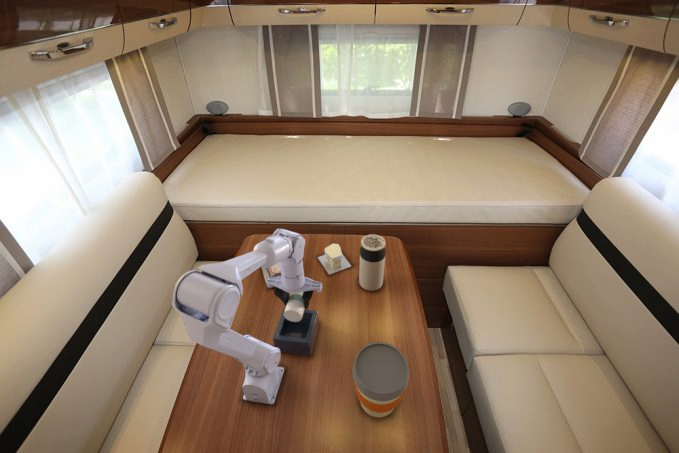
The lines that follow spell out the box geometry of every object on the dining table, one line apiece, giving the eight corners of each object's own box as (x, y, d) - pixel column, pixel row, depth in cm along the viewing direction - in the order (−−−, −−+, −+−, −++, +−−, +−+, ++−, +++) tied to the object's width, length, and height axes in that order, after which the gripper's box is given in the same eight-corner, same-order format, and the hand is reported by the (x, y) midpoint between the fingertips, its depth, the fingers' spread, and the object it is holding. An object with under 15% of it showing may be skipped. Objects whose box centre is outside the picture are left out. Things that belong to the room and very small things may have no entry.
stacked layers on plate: (351, 266, 118) (351, 254, 115) (329, 274, 115) (328, 263, 112) (339, 249, 125) (338, 238, 122) (317, 257, 122) (316, 246, 119)
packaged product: (255, 246, 121) (281, 239, 124) (257, 255, 124) (283, 248, 126) (265, 279, 107) (295, 271, 110) (268, 289, 110) (296, 281, 113)
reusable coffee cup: (350, 375, 87) (349, 342, 77) (397, 372, 87) (403, 338, 78) (355, 428, 77) (355, 397, 68) (408, 423, 77) (416, 392, 68)
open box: (310, 355, 91) (309, 343, 88) (275, 350, 93) (272, 338, 89) (318, 323, 100) (317, 310, 96) (286, 319, 101) (284, 306, 97)
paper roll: (302, 322, 89) (300, 311, 86) (284, 320, 90) (282, 309, 87) (310, 297, 96) (308, 285, 93) (293, 295, 97) (291, 283, 94)
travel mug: (370, 295, 108) (372, 254, 97) (354, 281, 113) (354, 241, 102) (387, 283, 112) (391, 242, 101) (371, 270, 117) (373, 230, 105)
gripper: (323, 262, 86) (325, 296, 94) (269, 256, 88) (276, 291, 96) (317, 282, 80) (320, 317, 89) (260, 276, 82) (268, 310, 91)
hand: (297, 304), depth 92 cm, fingers closed on paper roll, 5 cm apart
